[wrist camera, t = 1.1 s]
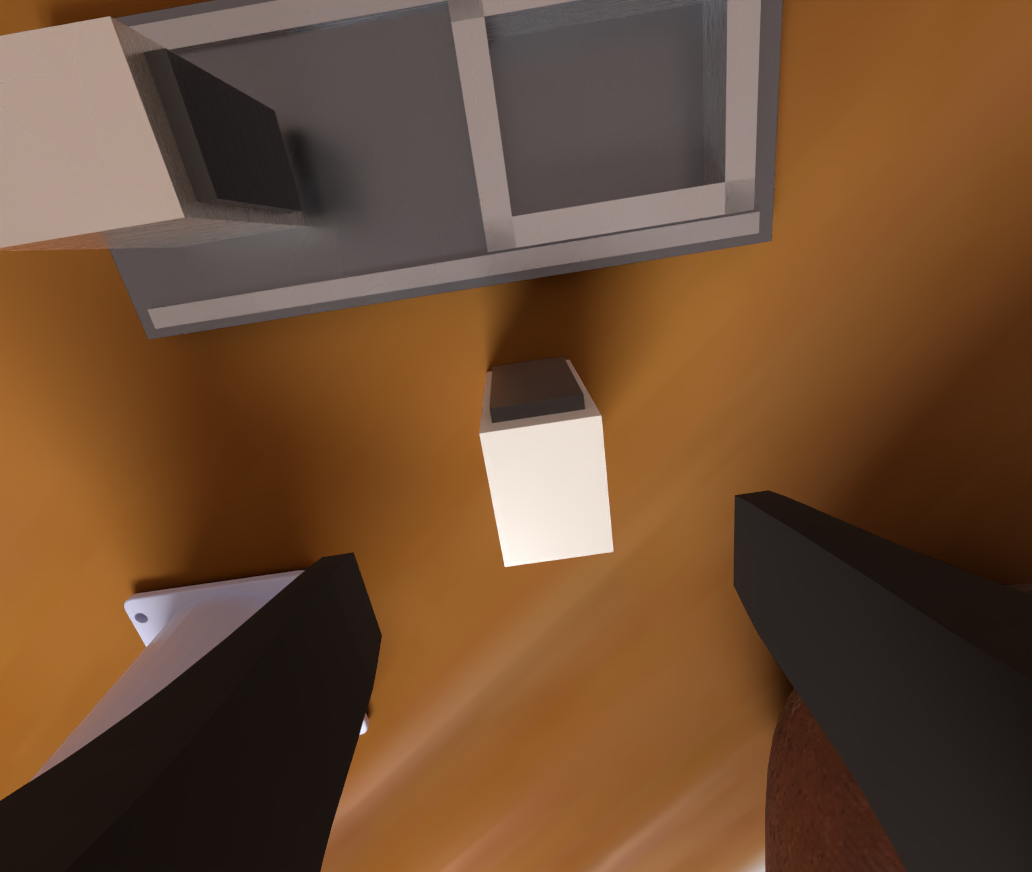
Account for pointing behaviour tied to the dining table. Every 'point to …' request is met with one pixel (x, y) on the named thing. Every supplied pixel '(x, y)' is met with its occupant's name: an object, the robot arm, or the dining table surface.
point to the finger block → (545, 462)
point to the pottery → (820, 802)
